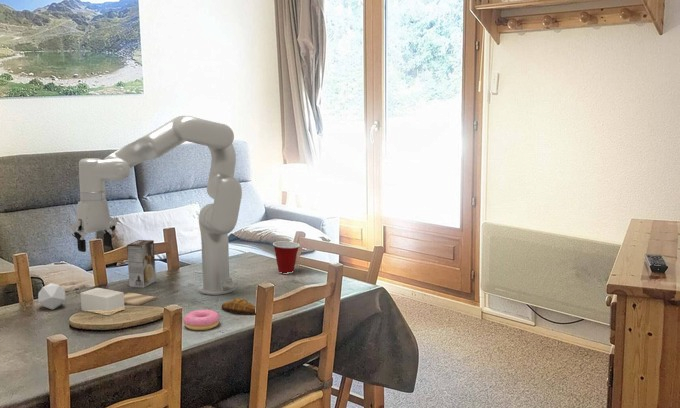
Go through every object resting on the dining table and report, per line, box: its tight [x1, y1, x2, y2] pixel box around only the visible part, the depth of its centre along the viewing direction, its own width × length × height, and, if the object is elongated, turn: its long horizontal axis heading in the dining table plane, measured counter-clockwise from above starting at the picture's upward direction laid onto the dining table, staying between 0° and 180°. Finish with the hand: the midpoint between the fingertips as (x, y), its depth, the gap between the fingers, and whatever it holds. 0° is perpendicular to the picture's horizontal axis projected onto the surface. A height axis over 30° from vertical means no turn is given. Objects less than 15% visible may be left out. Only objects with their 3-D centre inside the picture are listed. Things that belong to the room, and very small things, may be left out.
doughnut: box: [183, 309, 221, 331], centre depth 202 cm, size 11×11×4 cm
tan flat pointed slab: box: [124, 292, 158, 306], centre depth 229 cm, size 13×9×1 cm
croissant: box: [220, 297, 256, 315], centre depth 215 cm, size 14×7×5 cm, turn 64°
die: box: [37, 282, 66, 311], centre depth 220 cm, size 8×9×10 cm
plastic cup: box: [272, 240, 301, 273], centre depth 264 cm, size 11×11×12 cm
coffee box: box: [126, 239, 157, 289], centre depth 247 cm, size 9×6×16 cm
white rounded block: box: [80, 287, 125, 312], centre depth 217 cm, size 12×7×6 cm, turn 62°
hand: (95, 248), depth 216 cm, fingers open, 9 cm apart
